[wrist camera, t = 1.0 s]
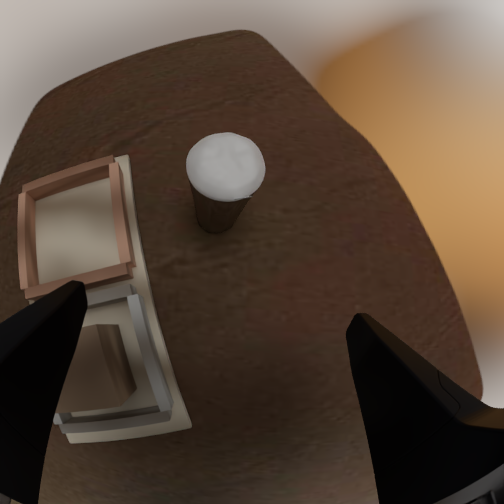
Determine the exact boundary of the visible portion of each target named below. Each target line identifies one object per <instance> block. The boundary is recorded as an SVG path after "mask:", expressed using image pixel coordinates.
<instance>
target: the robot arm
mask: <svg viewBox="0 0 504 504" xmlns="http://www.w3.org/2000/svg"><path fill="white" fill-rule="evenodd" d="M87 308H88V300H87V295H86V290H85V285H84V283H83V282H82V281H77V280H71V281H69V282H67V283H66V284H64V285H62V286H60V287H59V288H57V289H55V290H54V291H52V292H50V293H48V294H47V295H45V296H43V297H42V298H40V299H38V300H37V301H35V302H33V303H32V304H30V305H29V306H27V307H25V308H24V309H22V310H20V311H19V312H17V313H16V314H14V315H13V316H11V317H9V318H8V319H6V320H5V321H3V322H2V323H0V504H10V502H11V499H13V500H15V501H17V502H20V503H22V504H38V499H39V490H40V483H41V477H42V471H43V465H44V460H45V457H44V456H45V454H46V449H47V444H48V440H49V435H50V431H51V427H52V423H53V419H54V416H55V412H56V408H57V405H58V401H59V398H60V395H61V392H62V388H63V385H64V382H65V379H66V376H67V373H68V370H69V367H70V364H71V362H72V359H73V356H74V353H75V350H76V347H77V344H78V340H79V336H80V333H81V329H82V325H83V322H84V318H85V315H86V312H87ZM346 340H347V346H348V352H349V358H350V365H351V371H352V376H353V380H354V384H355V388H356V392H357V396H358V400H359V404H360V408H361V412H362V417H363V421H364V426H365V430H366V435H367V439H368V444H369V449H370V454H371V459H372V464H373V469H374V474H375V481H376V487H377V493H378V499H379V504H504V408H503V409H502V408H501V409H500V408H493V407H490V406H488V405H486V404H484V403H483V402H482V401H480V400H479V399H477V398H476V397H474V396H473V395H472V394H470V393H469V392H467V391H466V390H464V389H463V388H462V387H460V386H459V385H457V384H456V383H455V382H453V381H452V380H451V379H450V378H448V377H447V376H446V375H444V374H443V373H442V372H441V371H439V370H437V368H436V367H434V366H433V365H432V364H431V363H429V362H428V361H427V360H426V359H424V358H423V357H422V356H421V355H419V354H418V353H417V352H416V351H414V350H413V349H412V348H411V347H409V346H408V345H407V344H405V343H404V342H403V341H402V340H400V339H399V338H398V337H397V336H395V335H394V334H393V333H391V332H390V331H389V330H388V329H386V328H385V327H384V326H382V325H381V324H380V323H379V322H377V321H376V320H375V319H373V318H372V317H371V316H370V315H368V314H366V313H357V314H356V315H355V316H354V317H353V319H352V321H351V323H350V325H349V327H348V329H347V331H346Z"/></svg>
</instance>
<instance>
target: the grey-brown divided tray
mask: <svg viewBox="0 0 504 504" xmlns="http://www.w3.org/2000/svg"><path fill="white" fill-rule="evenodd" d="M18 262H19V276H20V286H21V290H24V291H25V298H26V299H28V300H29V304H32V303H33V302H35V301H37V300H38V299H40V298H42V297H43V296H45V295H47V294H48V293H50V292H52V291H54V290H55V289H57V288H59V287H60V286H62V285H64V284H66V283H67V282H69V281H71V280H77V281H82V282H83V283H84V285H85V290H86V295H87V300H88V308H87V312H86V315H85V318H84V322H83V325H82V329H81V333H80V336H79V340H78V344H77V347H76V350H75V353H74V356H73V359H72V362H71V364H70V367H69V370H68V373H67V376H66V379H65V382H64V385H63V388H62V392H61V395H60V398H59V401H58V405H57V408H56V412H55V416H54V419H53V421H54V424H59V426H60V429H61V431H62V434H65V433H66V435H67V438H68V440H69V442H70V443H89V442H103V441H114V440H123V439H131V438H139V437H145V436H152V435H158V434H163V433H169V432H174V431H179V430H184V429H188V428H192V423H191V420H190V418H189V415H188V412H187V409H186V407H185V404H184V401H183V398H182V395H181V393H180V390H179V387H178V384H177V381H176V378H175V375H174V372H173V368H172V365H171V362H170V359H169V355H168V352H167V349H166V345H165V342H164V338H163V335H162V331H161V327H160V324H159V320H158V316H157V312H156V308H155V304H154V300H153V296H152V291H151V287H150V282H149V278H148V273H147V269H146V264H145V259H144V254H143V248H142V243H141V237H140V232H139V226H138V219H137V213H136V206H135V199H134V192H133V184H132V175H131V166H130V159H129V156H128V155H124V156H120V157H116V158H114V156H113V155H111V156H107V157H104V158H100V159H97V160H93V161H90V162H87V163H83V164H80V165H77V166H74V167H71V168H68V169H65V170H62V171H59V172H56V173H53V174H51V175H48V176H45V177H42V178H40V179H37V180H35V181H32V182H30V183H27V184H25V185H23V190H22V193H21V194H19V201H18Z"/></svg>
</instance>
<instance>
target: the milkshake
mask: <svg viewBox="0 0 504 504" xmlns="http://www.w3.org/2000/svg"><path fill="white" fill-rule="evenodd" d="M186 169H187V174H188V179H189V183H190V187H191V191H192V194H193V199H194V205H195V211H196V215H197V219H198V223H199V225H200V226H201V227H202V228H203V229H205V230H206V231H207V232H209V233H223V232H224V231H226V230H228V229H229V228H231V227H232V226H233V224H234V223H235V221H236V220H237V218H238V216H239V215H240V213H241V212H242V210H243V208H244V207H245V205H246V204H247V202H248V201H249V200H250V198H251V197H253V194H254V193H255V192H256V190H257V189H258V188H259V186H260V185H261V183H262V181H263V178H264V175H265V163H264V160H263V156H262V154H261V152H260V150H259V148H258V147H257V146H256V145H255V144H254V143H253V142H252V141H251V140H250V139H248V138H245V137H243V136H240V135H237V134H234V133H219V134H213V135H210V136H207V137H205V138H203V139H202V140H200V141H199V142H198V143H197V144H196V145H194V146H193V147H192V149H191V150H190V152H189V154H188V156H187V160H186Z"/></svg>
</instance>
